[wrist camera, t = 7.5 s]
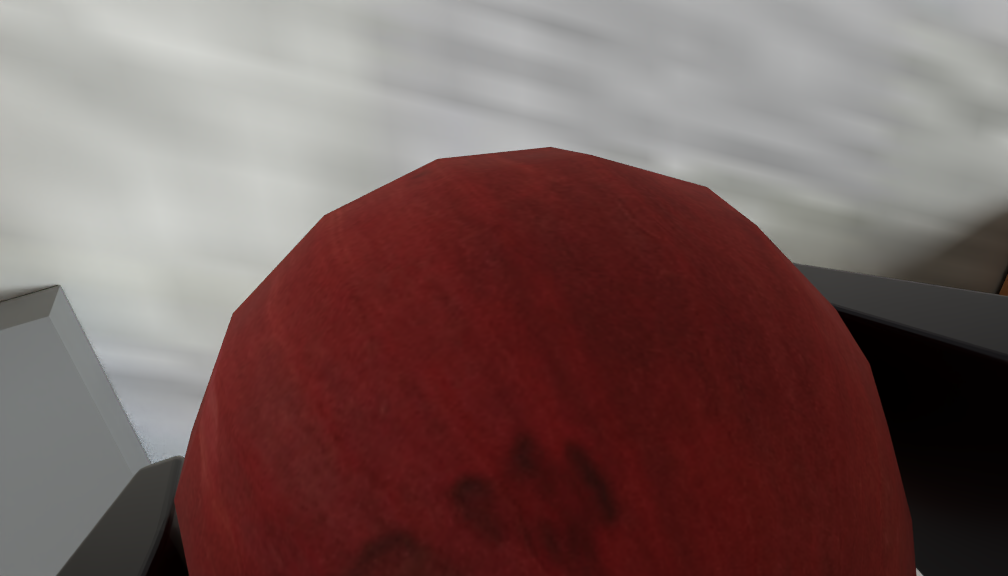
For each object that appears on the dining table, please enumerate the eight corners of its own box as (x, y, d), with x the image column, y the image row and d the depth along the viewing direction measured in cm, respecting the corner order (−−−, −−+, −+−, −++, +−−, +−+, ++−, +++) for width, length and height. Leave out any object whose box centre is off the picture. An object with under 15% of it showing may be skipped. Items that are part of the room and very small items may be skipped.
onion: (241, 534, 11) (305, 1609, 4) (133, 108, 8) (-192, 1100, 1) (632, 434, 12) (1159, 1092, 6) (644, 49, 10) (1652, 395, 3)
